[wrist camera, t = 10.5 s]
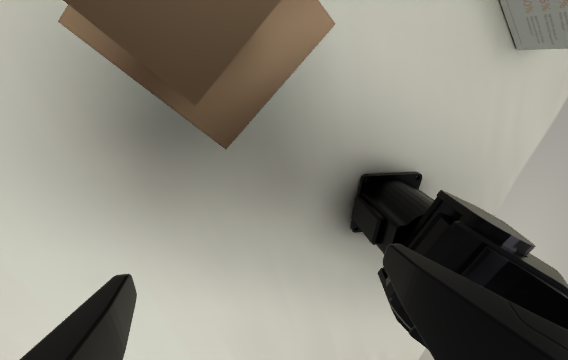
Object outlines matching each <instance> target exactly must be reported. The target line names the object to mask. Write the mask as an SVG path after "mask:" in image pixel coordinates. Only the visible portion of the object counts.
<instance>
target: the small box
mask: <svg viewBox="0 0 568 360" xmlns="http://www.w3.org/2000/svg"><path fill="white" fill-rule="evenodd" d="M500 3H501V6H502V8H503V11H504V14H505V17H506V20H507V23H508V26H509V28H510V31H511V34H512V37H513V39H514V42H515V45H516V48H517V49H518V50H529V49H531V50H533V49H568V0H500Z"/></svg>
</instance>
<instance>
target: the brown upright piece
mask: <svg viewBox="0 0 568 360" xmlns="http://www.w3.org/2000/svg"><path fill="white" fill-rule="evenodd" d="M63 1H65V2H66V3H67V4H68V6H67V8H66V9H65V11H64V12H63V14H62V16H61V17H60V19H59V21H58V22H59V23H61V24H62V25H63V26H64V27H66V28H67V29H68V30H70V31H71V32H72V33H74V34H75V35H76V36H78V37H79V38H80V39H82V40H83V41H84V42H85V43H87V44H88V45H89V46H91V47H92V48H93V49H95V50H96V51H97V52H99V53H100V54H101V55H103V56H104V57H105V58H106V59H108V60H109V61H110V62H112V63H113V64H114V65H116V66H117V67H118V68H120V69H121V70H122V71H124V72H125V73H126V74H127V75H129V76H130V77H131V78H133V79H134V80H135V81H137V82H138V83H139V84H141V85H142V86H143V87H145V88H146V89H147V90H148V91H150V92H151V93H152V94H154V95H155V96H156V97H158V98H159V99H160V100H162V101H163V102H164V103H166V104H167V105H168V106H170V107H171V108H172V109H173V110H175V111H176V112H177V113H179V114H180V115H181V116H183V117H184V118H185V119H187V120H188V121H189V122H191V123H192V124H193V125H194V126H196V127H197V128H198V129H200V130H201V131H202V132H204V133H205V134H206V135H208V136H209V137H210V138H212V139H213V140H214V141H215V142H217V143H218V144H219V145H221V146H222V147H223V148H225V149H227V148H228V146H229V145H230V144H231V143H232V142H233V141H234V140H235V138H236V137H237V136H238V135H239V134H240V133H241V132H242V130H243V129H244V128H245V127H246V126H247V125H248V124H249V122H250V121H251V120H252V119H253V118H254V117H255V116H256V114H257V113H258V112H259V111H260V110H261V109H262V108H263V106H264V105H265V104H266V103H267V102H268V101H269V100H270V98H271V97H272V96H273V95H274V94H275V93H276V92H277V90H278V89H279V88H280V87H281V86H282V85H283V84H284V82H285V81H286V80H287V79H288V78H289V77H290V76H291V74H292V73H293V72H294V71H295V70H296V69H297V68H298V66H299V65H300V64H301V63H302V62H303V61H304V60H305V58H306V57H307V56H308V55H309V54H310V53H311V52H312V50H313V49H314V48H315V47H316V46H317V45H318V44H319V42H320V41H321V40H322V39H323V38H324V37H325V36H326V34H327V33H328V32H329V31H330V30H331V29H332V28H333V26H334V25H335V23H334V21H333V20H332V18H331V17H330V16H329V14H328V13H327V12H326V10H325V9H324V7H323V6H322V5H321V3H320V2H319V1H318V0H63Z"/></svg>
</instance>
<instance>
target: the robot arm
mask: <svg viewBox="0 0 568 360" xmlns="http://www.w3.org/2000/svg"><path fill="white" fill-rule="evenodd" d="M416 177H417V178H416ZM367 178H368V179H367ZM415 178H416V179H415ZM366 179H367V181H365V180H366ZM421 180H422V175H421V174H420V173H418V172H407V173H384V174H365V175H363V176H362V177H361V179H360V183H359V188H358V193H357V196H356V198H355V203H354V208H353V213H352V222H351V230H352V231H353V232H363V233H364V234H365V236H366V237H367V238H368V239H369V241H370V242H371V243H372V244H373V245H375V244H376V245H377V246H378V247H379V248H380V250H381V251H382V252H383V253H384V258H383V266H384V267H383V268H381V269H380V270H379V272H378V275H379V278H380V280H381V283H382V286H383V288H384V291H385V293H386V296H387V299H388V301H389V304H390V306H391V309H392V311H393V313H394V315H395V317H396V319H397V321H398V322H399V323H400V324H401V325H402V326H403V327H404V328H405V329H406V330H407V331H408V332H409V334H410V335H411V336H412V337H413V338H414V339H415V340H417V341H418V342H419V343H421V344H422V345H423V346H425V347H426V348H427V349H428V350H429V351H430V352H431V354H432V356H433V358H434V359H435V360H568V284H567V283H566V281H565V280H564V279H563V277H562V276H561V274H560V273H559V272H558V271H557V270H555V269H554V268H553V267H551V266H549V265H548V264H546V263H544V262H543V261H541V260H540V259H538V258H536V257H535V256H533V255H531V254H530V253H529V252H530V251H531V250H532V249H533V248H534V247H535V245H534V244H532V243H531V242H530V241H529V240H527V239H526V238H525V237H523V236H522V235H521V234H519V233H518V232H517V231H516V230H514V229H513V228H512V227H510V226H509V225H508V224H506V223H505V222H503V221H502V220H500V219H498V218H496V217H494V216H493V215H491V214H489V213H487V212H486V211H484V210H482V209H480V208H479V207H477V206H475V205H473V204H470V203H468V202H466V201H464V200H462V199H460V198H458V197H455V196H453V195H451V194H449V193H447V192H445V191H443V190H440V191H439V193H438V194H437V195H436V196H437V198H436V199H435V200H433V199H432V198H430V197H429V196H427V195H426V194H424V193H423V192H422V191H420V190H419V186H420V183H421ZM355 227H356V228H355ZM136 297H137V294H136V289H135V286H134V282H133V279H132V276H131V275H130V274H122V275H116V276H114V277H113V278H111V279H110V280H109V281H108V282H107V283H106V284H105V285H104V286H102V287H101V288H100V289H99V290H98V291H97V292H96V293H95V294H93V295H92V296H91V297H90V298H89V299H88V300H87V301H85V302H84V303H83V304H82V305H81V306H80V307H79V308H78V309H76V310H75V311H74V312H73V313H72V314H71V315H70V316H69V317H67V318H66V319H65V320H64V321H63V322H62V323H61V324H59V325H58V326H57V327H56V328H55V329H54V330H53V331H52V332H50V333H49V334H48V335H47V336H46V337H45V338H44V339H42V340H41V341H40V342H39V343H38V344H37V345H36V346H35V347H33V348H32V349H31V350H30V351H29V352H28V353H27V354H26V355H24V356H23V357H22V358H21V359H20V360H123V357H124V353H125V350H126V345H127V341H128V336H129V332H130V327H131V322H132V317H133V313H134V308H135V303H136Z"/></svg>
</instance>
